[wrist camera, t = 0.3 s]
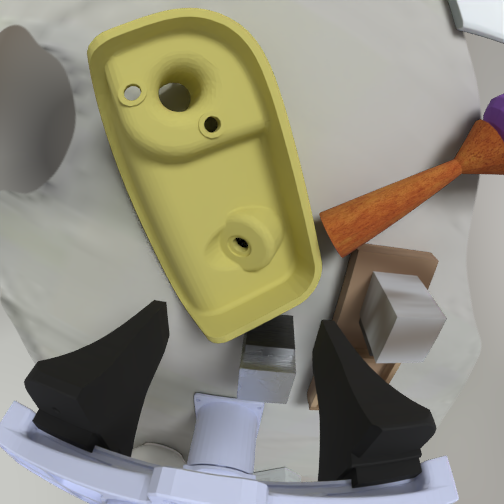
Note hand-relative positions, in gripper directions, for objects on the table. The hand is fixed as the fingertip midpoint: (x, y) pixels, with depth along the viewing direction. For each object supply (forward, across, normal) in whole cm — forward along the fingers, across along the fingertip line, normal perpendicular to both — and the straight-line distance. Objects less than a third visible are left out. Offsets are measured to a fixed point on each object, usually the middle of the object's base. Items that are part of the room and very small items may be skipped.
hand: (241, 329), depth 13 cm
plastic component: (+10, +3, -5) cm, 12 cm away
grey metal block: (+10, -2, +9) cm, 13 cm away
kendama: (+5, -12, -9) cm, 16 cm away
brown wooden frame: (+10, -11, +8) cm, 17 cm away
